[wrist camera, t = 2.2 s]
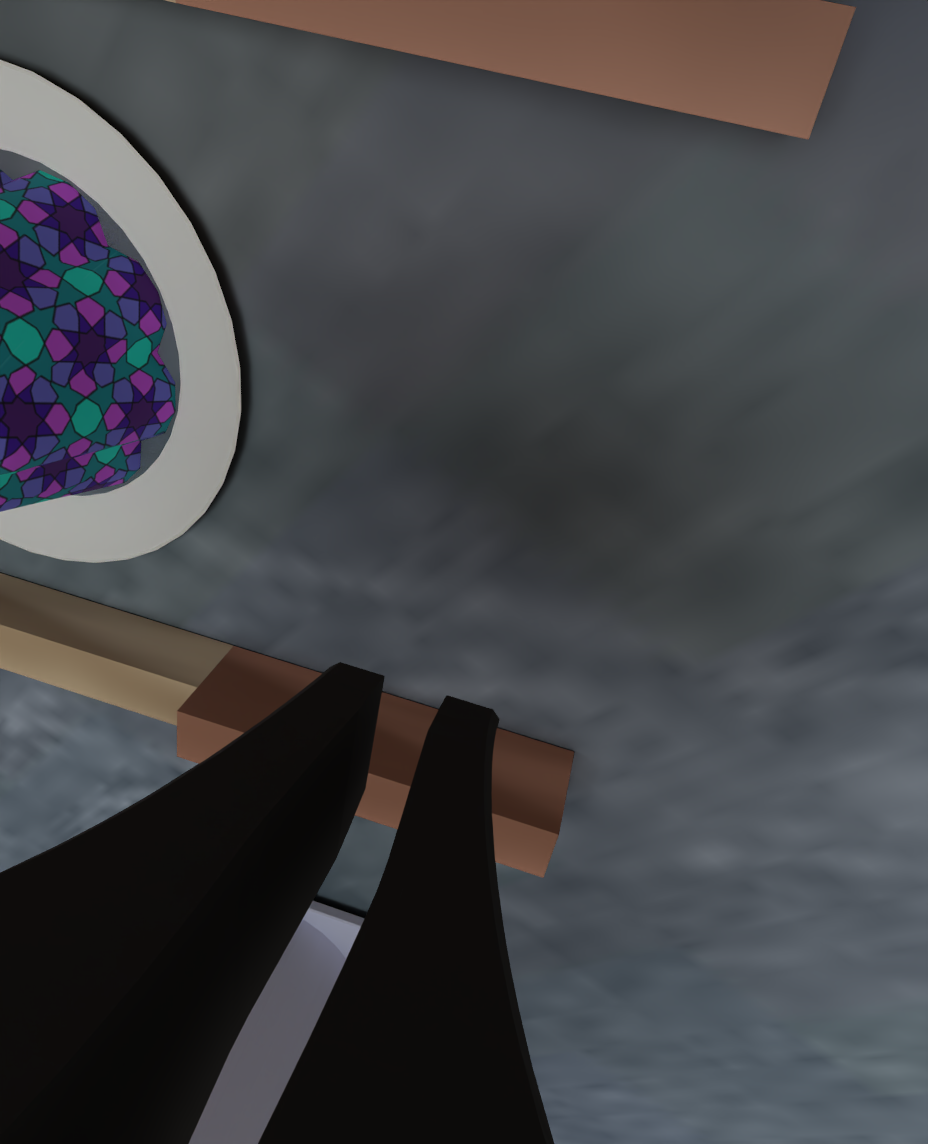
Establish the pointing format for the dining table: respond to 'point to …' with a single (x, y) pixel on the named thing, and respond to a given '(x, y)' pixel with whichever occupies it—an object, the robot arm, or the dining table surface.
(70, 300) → the pudding
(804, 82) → the track
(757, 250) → the dining table surface
